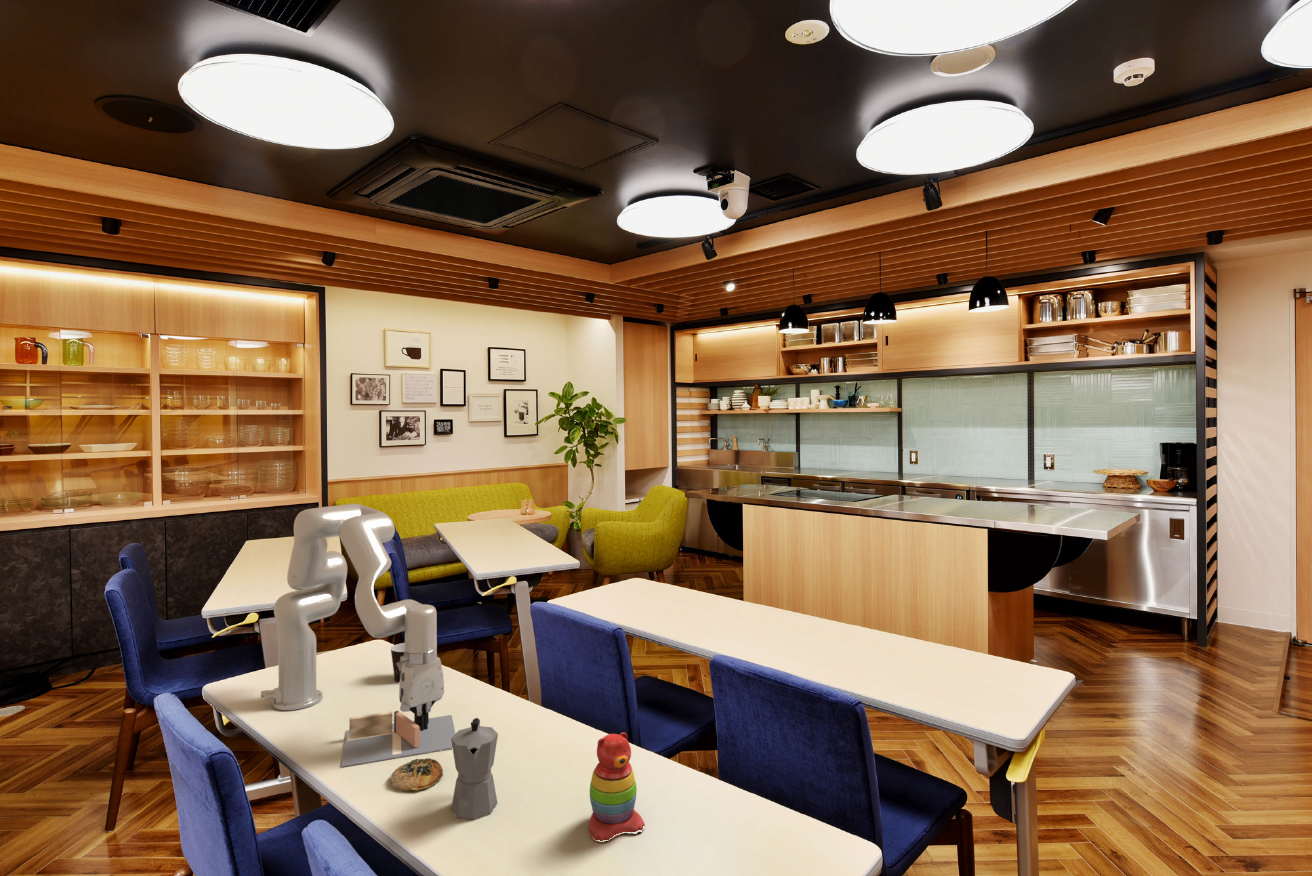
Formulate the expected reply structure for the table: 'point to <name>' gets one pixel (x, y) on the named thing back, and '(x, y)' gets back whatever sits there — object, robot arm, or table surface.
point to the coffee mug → (397, 659)
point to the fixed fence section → (371, 725)
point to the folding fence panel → (408, 729)
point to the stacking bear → (613, 790)
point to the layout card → (398, 744)
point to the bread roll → (417, 775)
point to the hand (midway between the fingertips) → (421, 728)
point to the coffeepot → (474, 771)
